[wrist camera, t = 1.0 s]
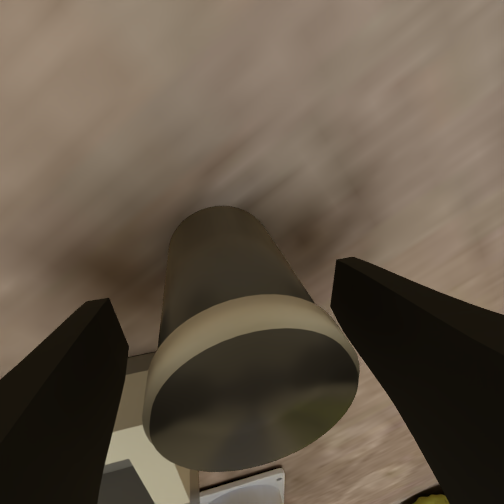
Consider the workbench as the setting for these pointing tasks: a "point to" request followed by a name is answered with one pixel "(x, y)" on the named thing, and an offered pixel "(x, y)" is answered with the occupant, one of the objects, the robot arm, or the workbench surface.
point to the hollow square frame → (141, 454)
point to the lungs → (432, 500)
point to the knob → (241, 351)
